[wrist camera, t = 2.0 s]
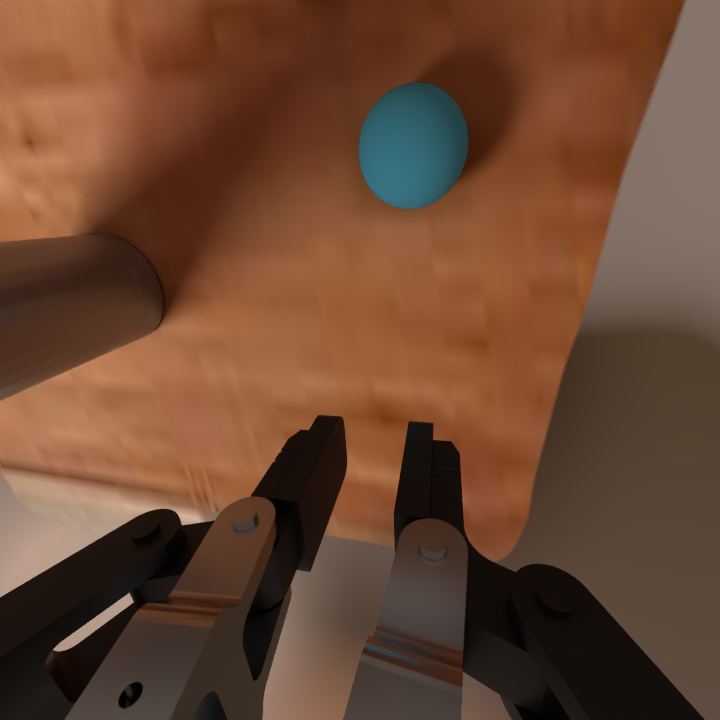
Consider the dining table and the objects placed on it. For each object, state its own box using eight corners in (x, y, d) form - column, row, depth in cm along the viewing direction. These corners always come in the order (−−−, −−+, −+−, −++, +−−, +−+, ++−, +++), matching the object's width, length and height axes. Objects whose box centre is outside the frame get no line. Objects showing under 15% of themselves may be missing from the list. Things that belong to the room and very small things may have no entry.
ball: (371, 210, 24) (351, 213, 19) (367, 106, 22) (342, 74, 17) (462, 205, 23) (468, 206, 18) (468, 92, 21) (476, 54, 15)
